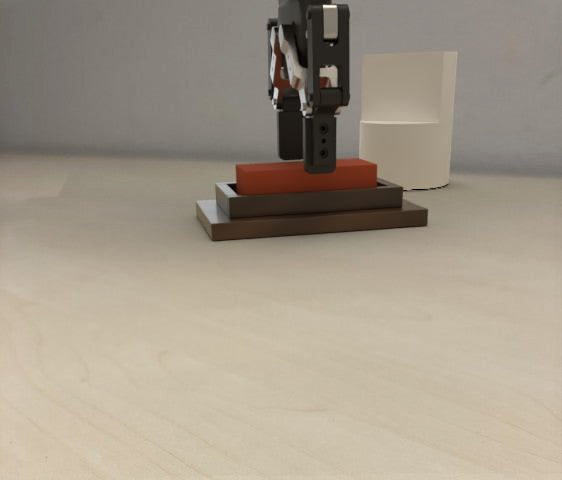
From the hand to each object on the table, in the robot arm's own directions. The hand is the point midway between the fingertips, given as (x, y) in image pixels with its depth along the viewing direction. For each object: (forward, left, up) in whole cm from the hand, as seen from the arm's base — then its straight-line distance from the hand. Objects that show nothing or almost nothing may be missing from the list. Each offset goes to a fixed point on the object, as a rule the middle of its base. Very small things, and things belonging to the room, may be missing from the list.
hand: (304, 166), depth 53 cm
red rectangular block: (0, 0, -3) cm, 3 cm away
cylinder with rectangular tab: (+14, +15, -4) cm, 21 cm away
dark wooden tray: (0, 0, -4) cm, 4 cm away
